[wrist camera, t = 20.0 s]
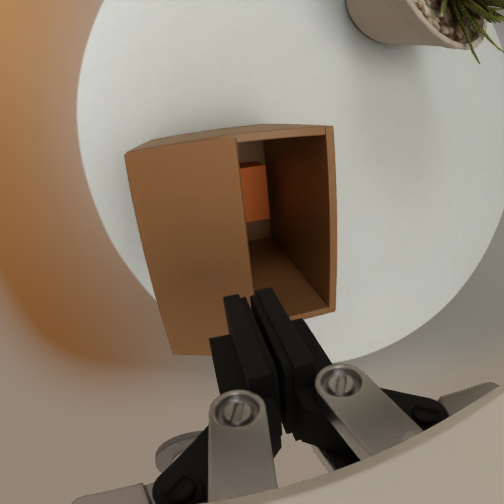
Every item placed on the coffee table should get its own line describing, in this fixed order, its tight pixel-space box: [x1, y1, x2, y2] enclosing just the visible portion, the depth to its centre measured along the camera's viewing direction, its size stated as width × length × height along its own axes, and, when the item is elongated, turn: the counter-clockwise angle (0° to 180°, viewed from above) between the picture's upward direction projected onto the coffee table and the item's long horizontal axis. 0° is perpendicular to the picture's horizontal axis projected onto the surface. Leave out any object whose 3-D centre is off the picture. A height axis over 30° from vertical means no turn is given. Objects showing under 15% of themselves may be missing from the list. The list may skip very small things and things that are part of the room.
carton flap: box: [124, 137, 254, 355], centre depth 16 cm, size 12×5×1 cm, turn 6°
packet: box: [239, 161, 270, 222], centre depth 29 cm, size 8×5×3 cm, turn 96°
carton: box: [126, 124, 337, 320], centre depth 24 cm, size 12×11×14 cm
